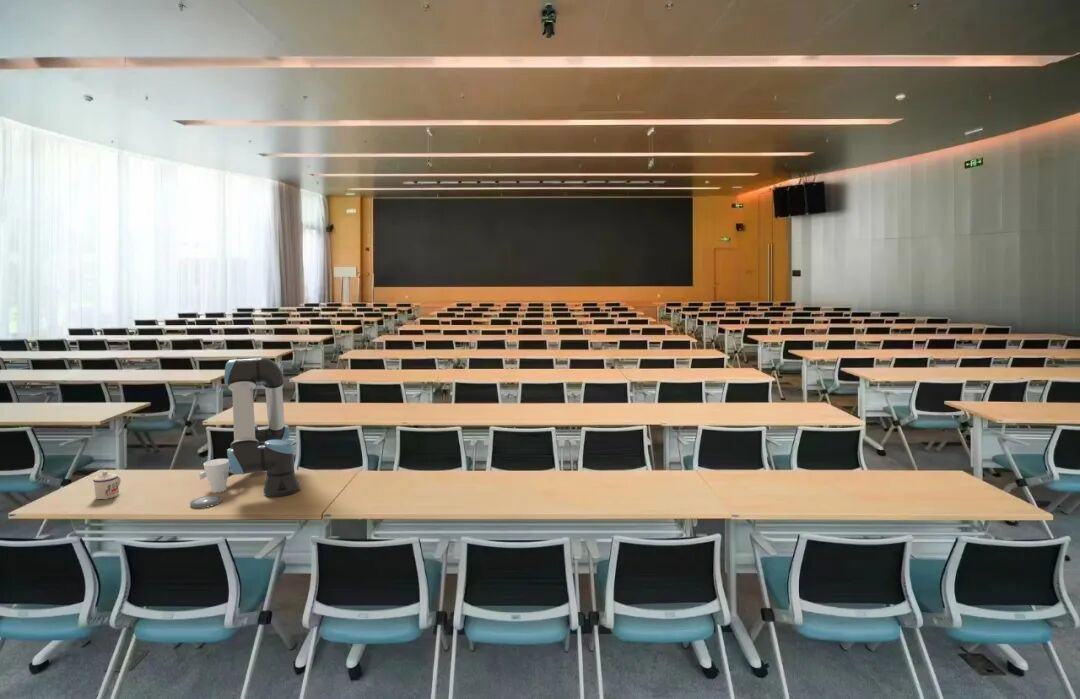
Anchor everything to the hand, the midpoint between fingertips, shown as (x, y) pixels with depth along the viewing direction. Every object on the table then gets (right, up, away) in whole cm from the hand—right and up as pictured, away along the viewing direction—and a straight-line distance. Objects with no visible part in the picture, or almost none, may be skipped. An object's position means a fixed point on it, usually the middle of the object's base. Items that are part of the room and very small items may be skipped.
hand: (211, 476), depth 279 cm
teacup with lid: (-47, -9, +2) cm, 48 cm away
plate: (+3, -9, -11) cm, 14 cm away
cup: (0, -8, +5) cm, 9 cm away
